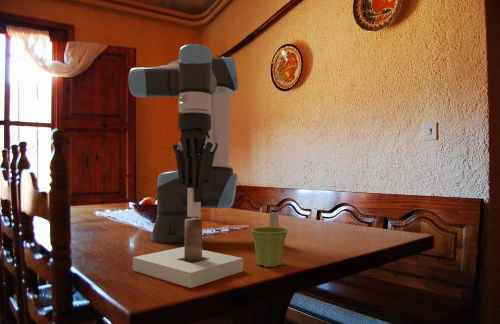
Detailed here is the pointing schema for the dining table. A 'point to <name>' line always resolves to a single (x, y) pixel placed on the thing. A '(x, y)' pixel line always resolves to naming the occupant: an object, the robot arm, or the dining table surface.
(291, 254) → the dining table surface
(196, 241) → the peg
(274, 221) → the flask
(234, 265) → the board
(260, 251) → the plant pot
